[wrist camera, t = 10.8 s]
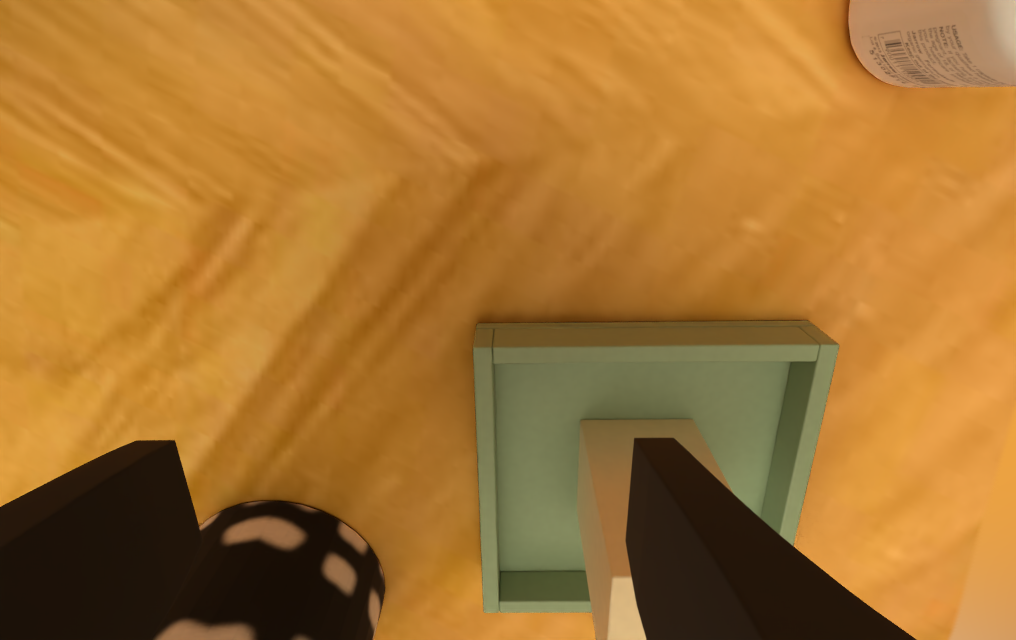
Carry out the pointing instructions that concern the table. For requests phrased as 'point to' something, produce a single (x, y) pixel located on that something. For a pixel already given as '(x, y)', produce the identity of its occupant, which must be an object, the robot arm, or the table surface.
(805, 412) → the tray
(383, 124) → the table surface
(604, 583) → the block
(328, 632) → the white-spotted black cylinder
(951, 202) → the table surface
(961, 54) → the pill bottle
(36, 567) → the robot arm
